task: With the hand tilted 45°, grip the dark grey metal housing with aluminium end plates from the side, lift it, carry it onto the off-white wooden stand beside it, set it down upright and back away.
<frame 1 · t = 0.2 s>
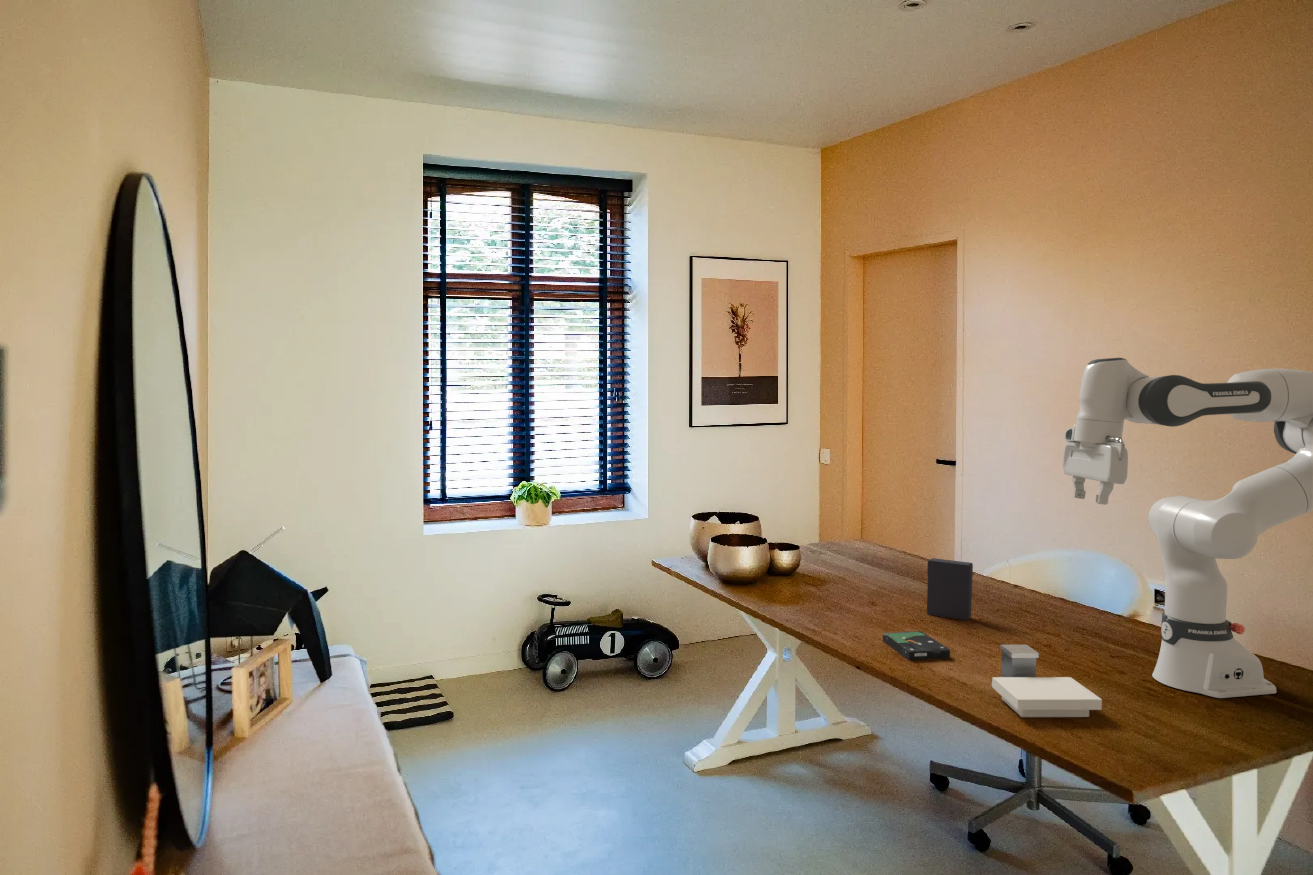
hand: (1090, 501, 183), 39 cm above the table, tool pointing down, fingers open, 8 cm apart
stand: (1044, 707, 172), on the table
disk drive: (915, 652, 207), on the table
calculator: (948, 616, 235), on the table
housing: (1017, 686, 183), on the table
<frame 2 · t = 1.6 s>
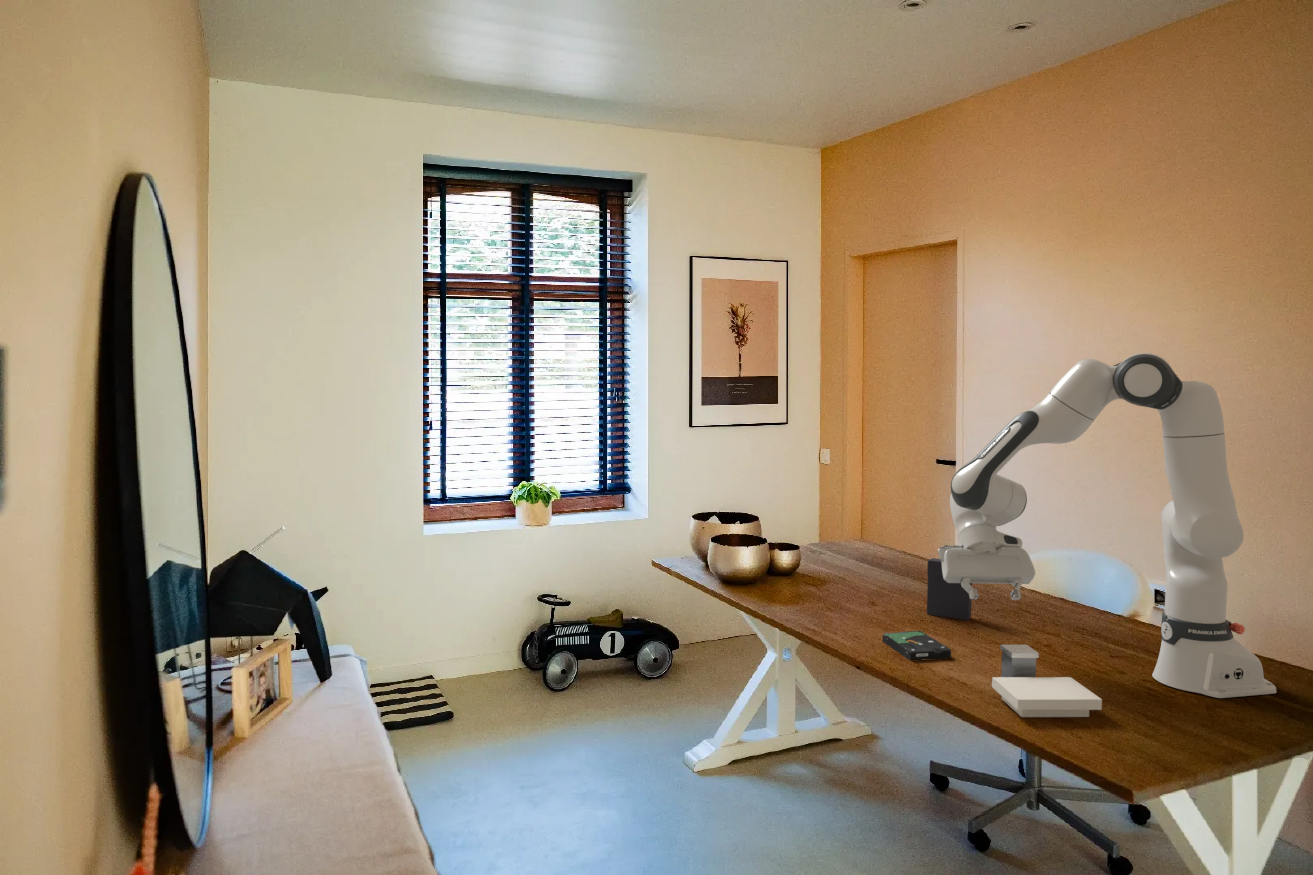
hand: (995, 598, 195), 15 cm above the table, tool tilted 45°, fingers open, 8 cm apart
nothing on the table moved.
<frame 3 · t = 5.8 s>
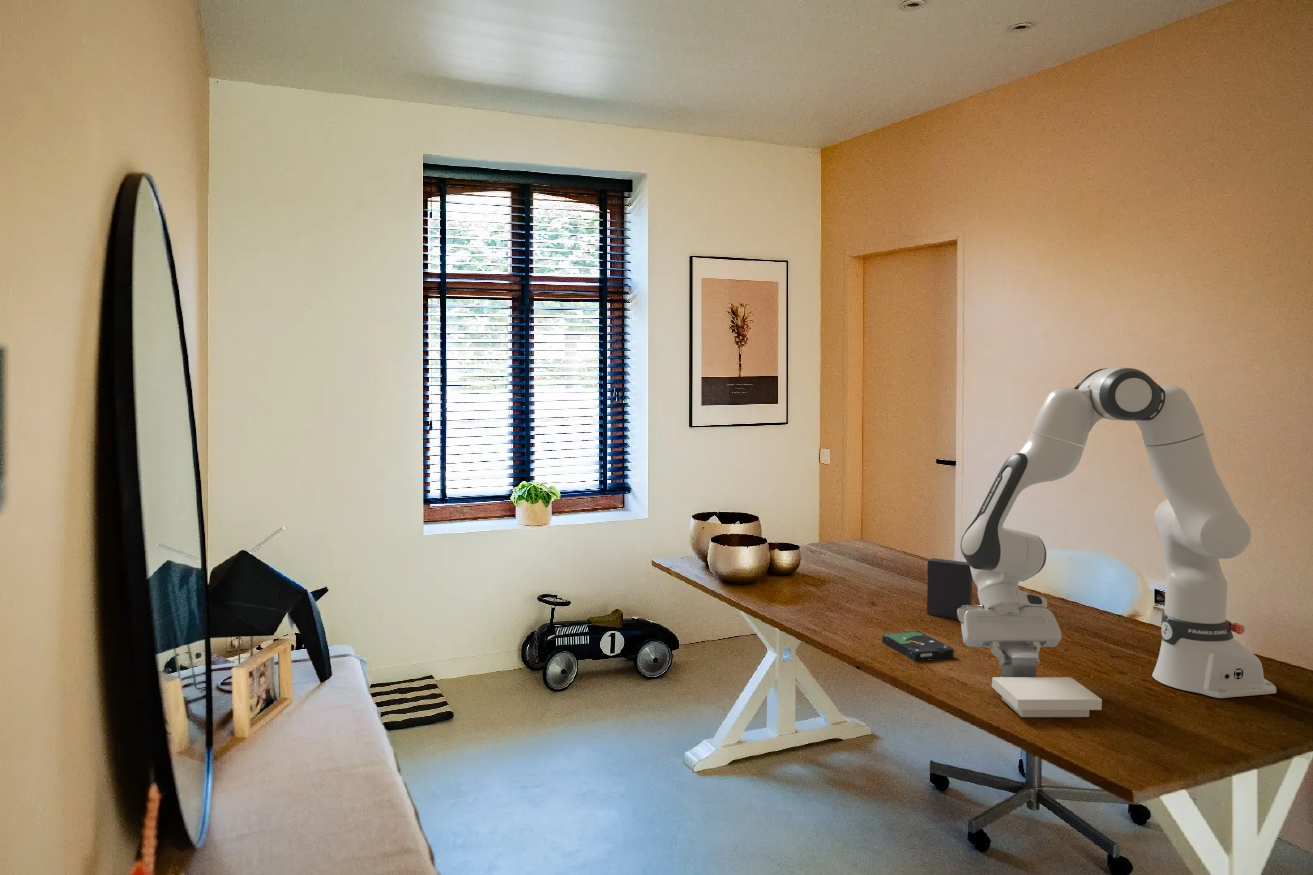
hand: (1020, 664, 182), 5 cm above the table, tool tilted 45°, fingers closed on housing, 5 cm apart
housing: (1017, 685, 183), on the table, touching gripper
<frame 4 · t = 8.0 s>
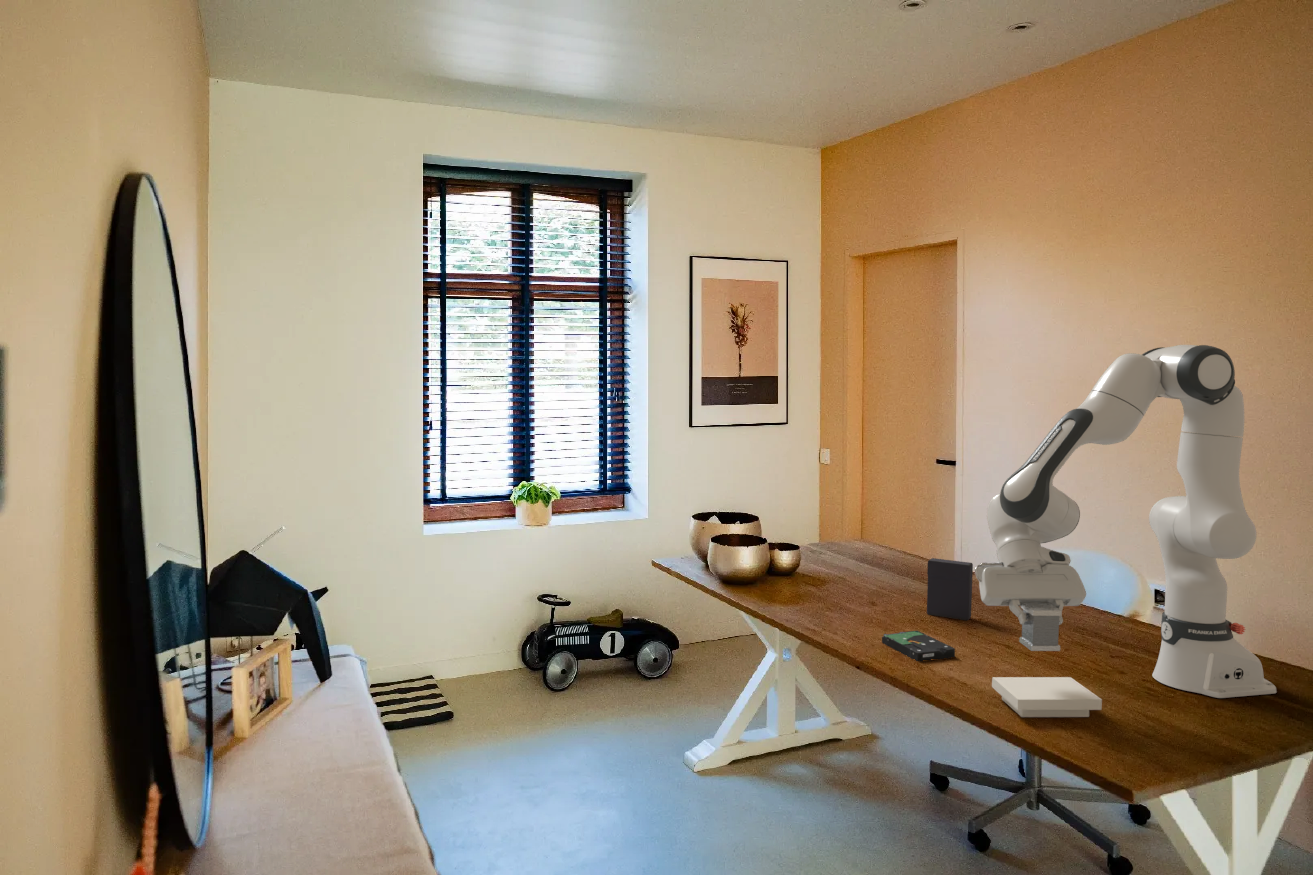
hand: (1042, 623, 172), 16 cm above the table, tool tilted 45°, fingers closed on housing, 5 cm apart
housing: (1039, 646, 173), point 11 cm above the table, touching gripper
everything else where it was.
when the fingers open (10 cm above the table, at t = 10.6 s): housing moves 2 cm, resting on stand.
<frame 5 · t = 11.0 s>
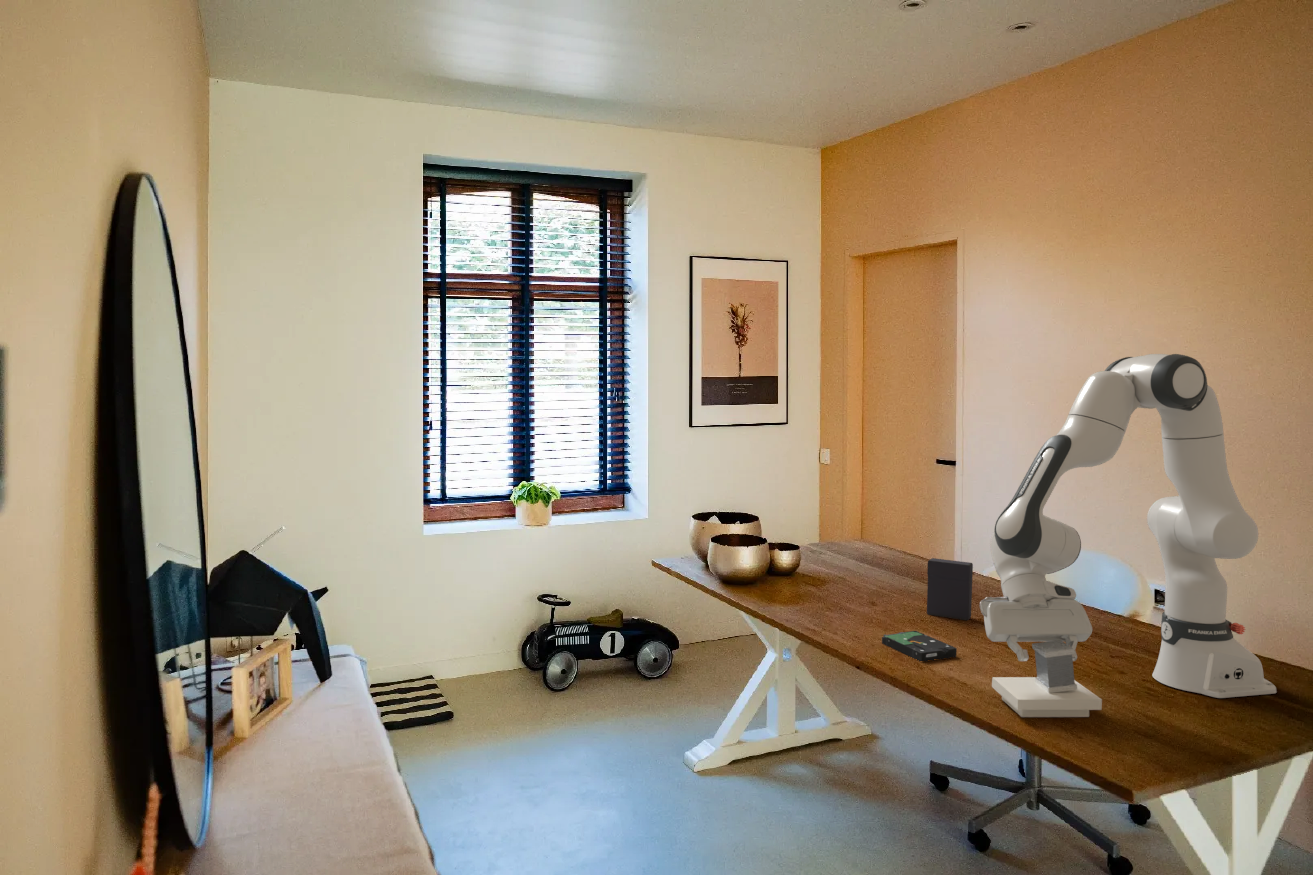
hand: (1048, 659, 170), 10 cm above the table, tool tilted 45°, fingers open, 8 cm apart
housing: (1056, 685, 171), point 4 cm above the table, tilted 7°, touching gripper, stand
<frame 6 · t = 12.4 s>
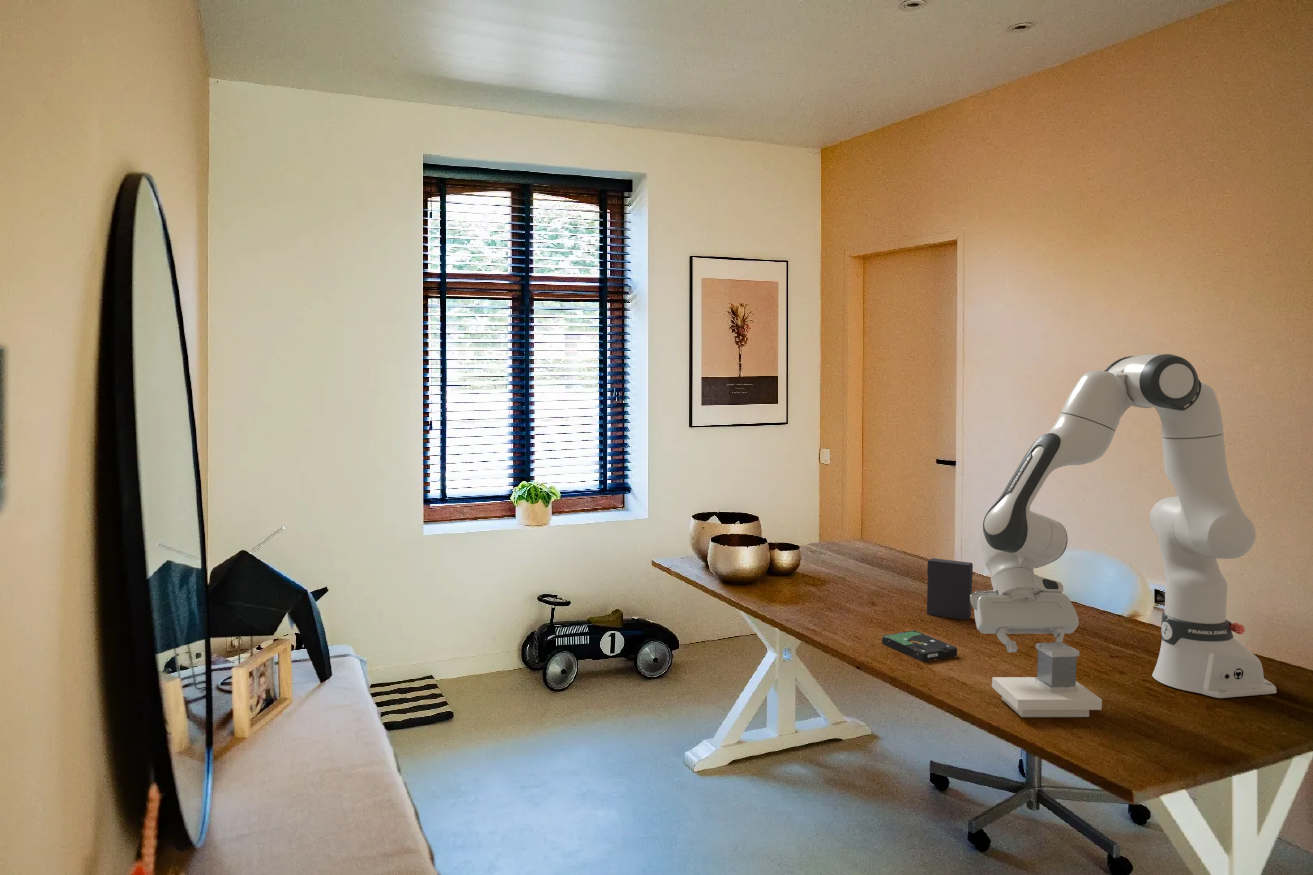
hand: (1036, 651, 175), 10 cm above the table, tool tilted 45°, fingers open, 8 cm apart
housing: (1055, 687, 172), point 4 cm above the table, touching stand
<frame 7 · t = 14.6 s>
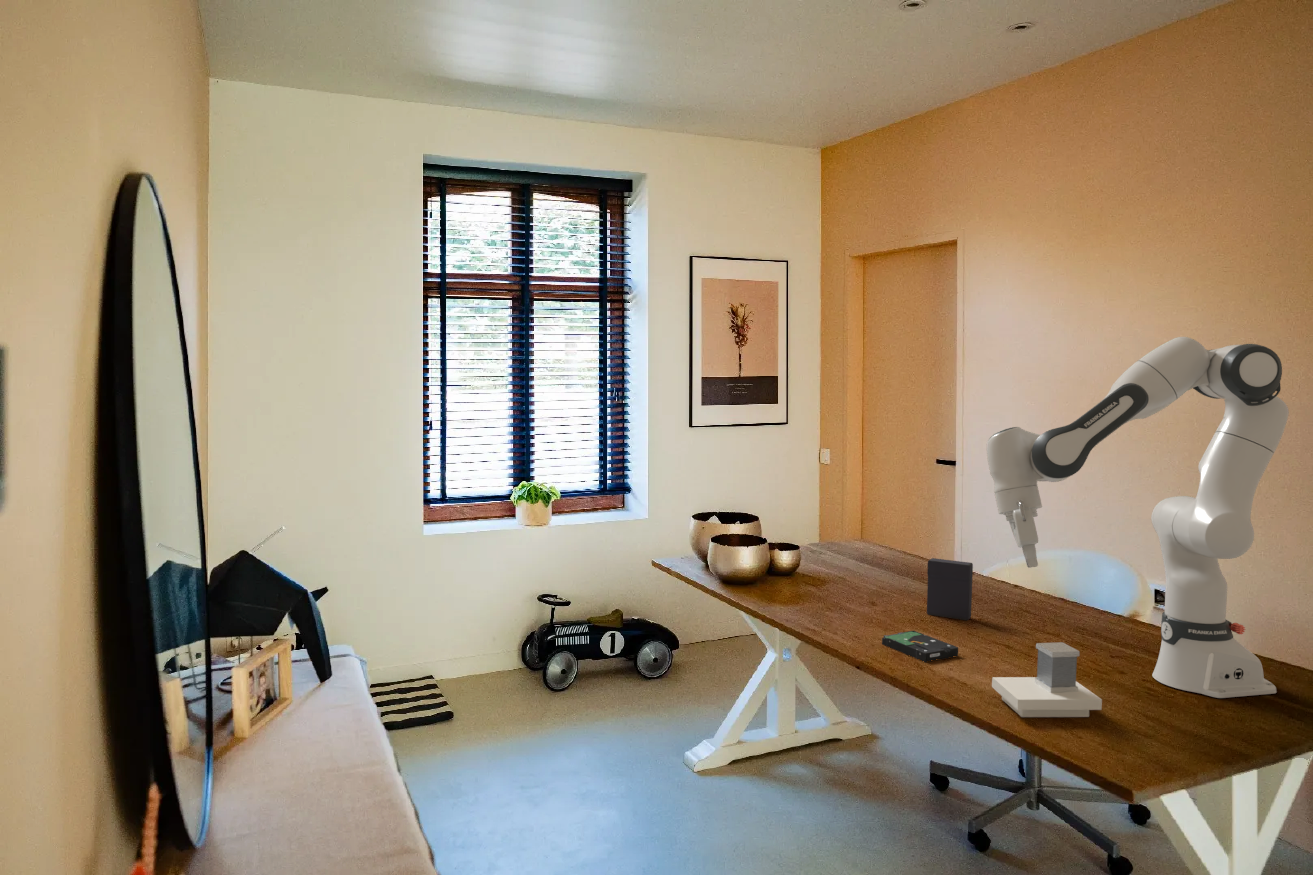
hand: (1032, 567, 186), 24 cm above the table, tool tilted 20°, fingers open, 8 cm apart
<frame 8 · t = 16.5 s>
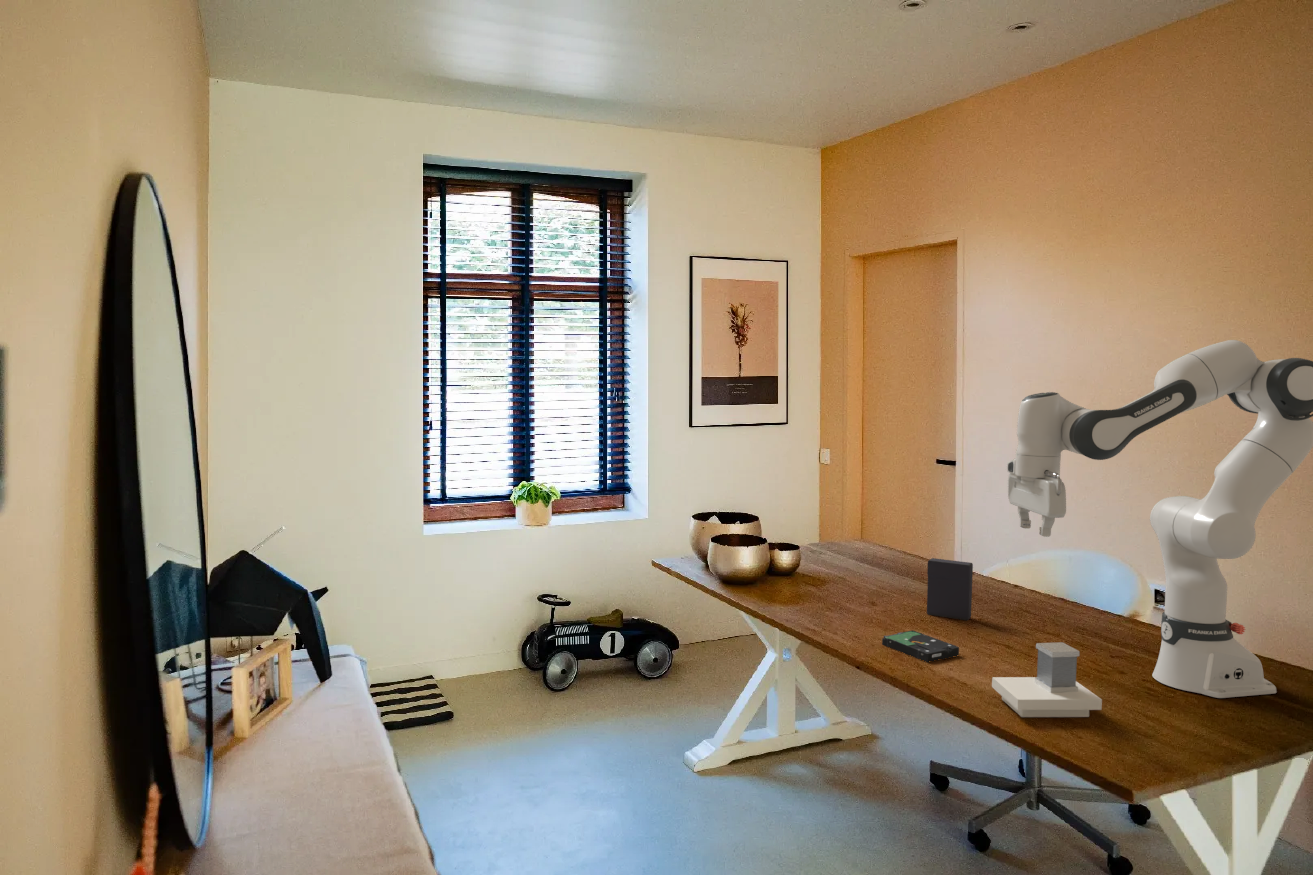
hand: (1034, 531, 189), 31 cm above the table, tool pointing down, fingers open, 8 cm apart
at the end: housing inside the target area on the stand (2.3 cm from its centre), point 4.0 cm above the stand's base; housing tilted 0°; the gripper is holding nothing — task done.
